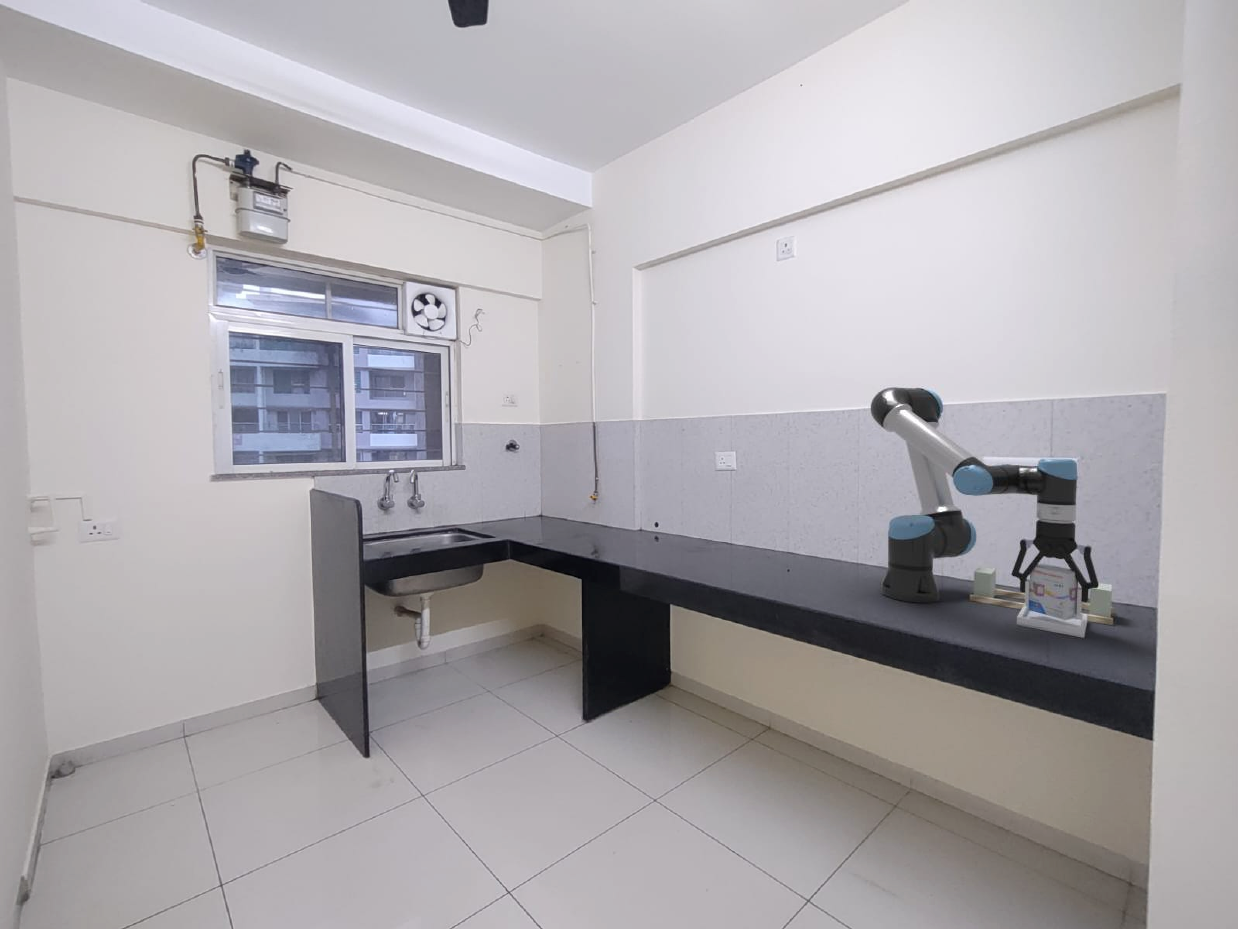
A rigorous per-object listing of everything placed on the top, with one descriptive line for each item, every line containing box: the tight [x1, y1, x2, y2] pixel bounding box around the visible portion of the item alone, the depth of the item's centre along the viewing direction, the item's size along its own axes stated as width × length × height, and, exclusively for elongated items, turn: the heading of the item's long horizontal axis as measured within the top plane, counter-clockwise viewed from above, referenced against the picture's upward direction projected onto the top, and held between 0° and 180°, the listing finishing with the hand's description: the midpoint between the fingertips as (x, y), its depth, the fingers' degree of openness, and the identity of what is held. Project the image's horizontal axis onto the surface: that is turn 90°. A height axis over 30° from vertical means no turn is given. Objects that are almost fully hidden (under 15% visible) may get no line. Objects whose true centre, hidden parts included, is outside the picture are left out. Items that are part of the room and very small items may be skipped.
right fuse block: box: [1088, 582, 1113, 618], centre depth 137 cm, size 4×8×8 cm, turn 136°
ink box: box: [1029, 563, 1079, 620], centre depth 132 cm, size 9×5×12 cm, turn 21°
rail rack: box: [969, 588, 1114, 626], centre depth 145 cm, size 30×13×2 cm, turn 46°
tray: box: [1016, 604, 1089, 639], centre depth 132 cm, size 13×15×2 cm
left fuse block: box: [973, 566, 997, 598], centre depth 154 cm, size 4×8×8 cm, turn 136°
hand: (1052, 609), depth 132 cm, fingers closed on ink box, 9 cm apart
